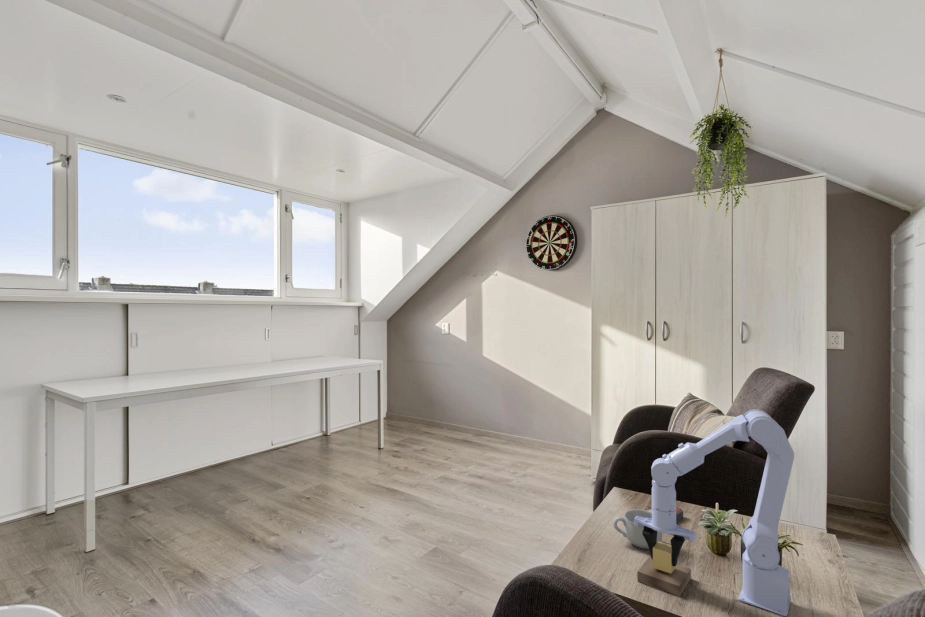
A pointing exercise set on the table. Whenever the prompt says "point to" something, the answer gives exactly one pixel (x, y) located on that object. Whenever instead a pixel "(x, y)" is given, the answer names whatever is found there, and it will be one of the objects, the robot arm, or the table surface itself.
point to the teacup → (635, 527)
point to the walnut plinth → (664, 577)
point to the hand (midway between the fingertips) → (664, 561)
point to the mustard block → (663, 557)
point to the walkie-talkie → (678, 514)
